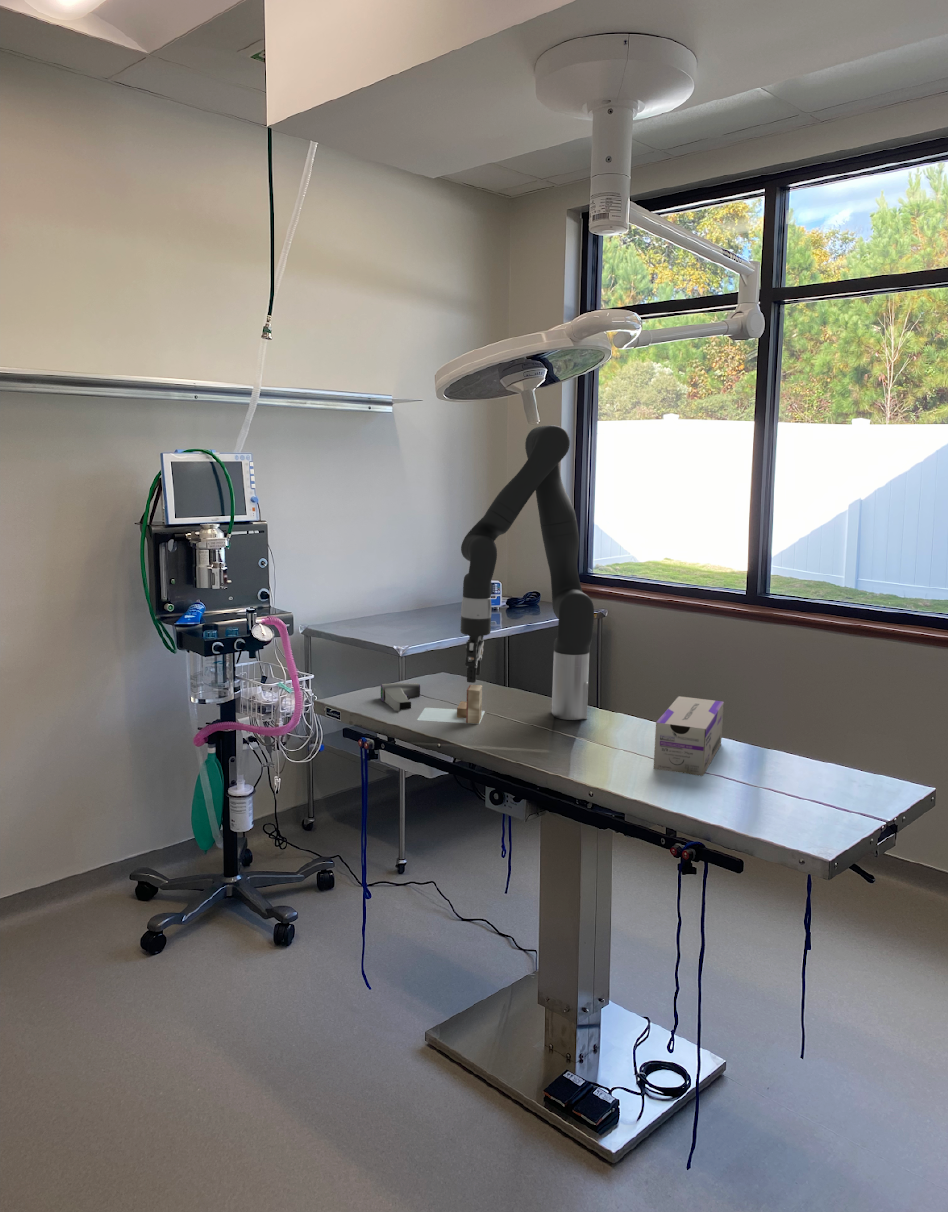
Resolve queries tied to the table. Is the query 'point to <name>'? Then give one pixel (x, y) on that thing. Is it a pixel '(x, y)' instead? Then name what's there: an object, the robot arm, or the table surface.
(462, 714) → the rail
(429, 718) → the silicone mat
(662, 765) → the surgical sutures box
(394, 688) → the infrared thermometer
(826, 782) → the table surface
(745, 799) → the table surface
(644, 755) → the table surface
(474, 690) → the wooden block
